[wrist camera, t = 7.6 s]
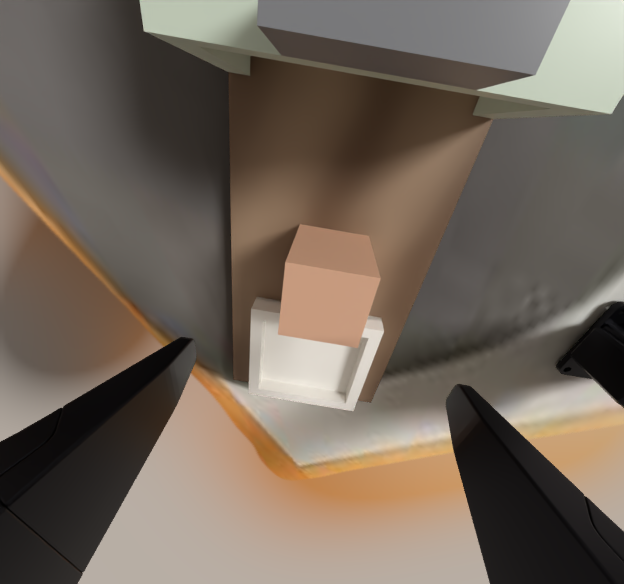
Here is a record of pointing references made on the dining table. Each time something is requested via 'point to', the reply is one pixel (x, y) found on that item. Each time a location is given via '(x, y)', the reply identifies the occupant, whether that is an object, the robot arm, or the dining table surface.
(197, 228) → the dining table surface
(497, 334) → the dining table surface
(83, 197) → the dining table surface
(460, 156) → the board
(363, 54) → the cover
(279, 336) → the dish
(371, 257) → the block
